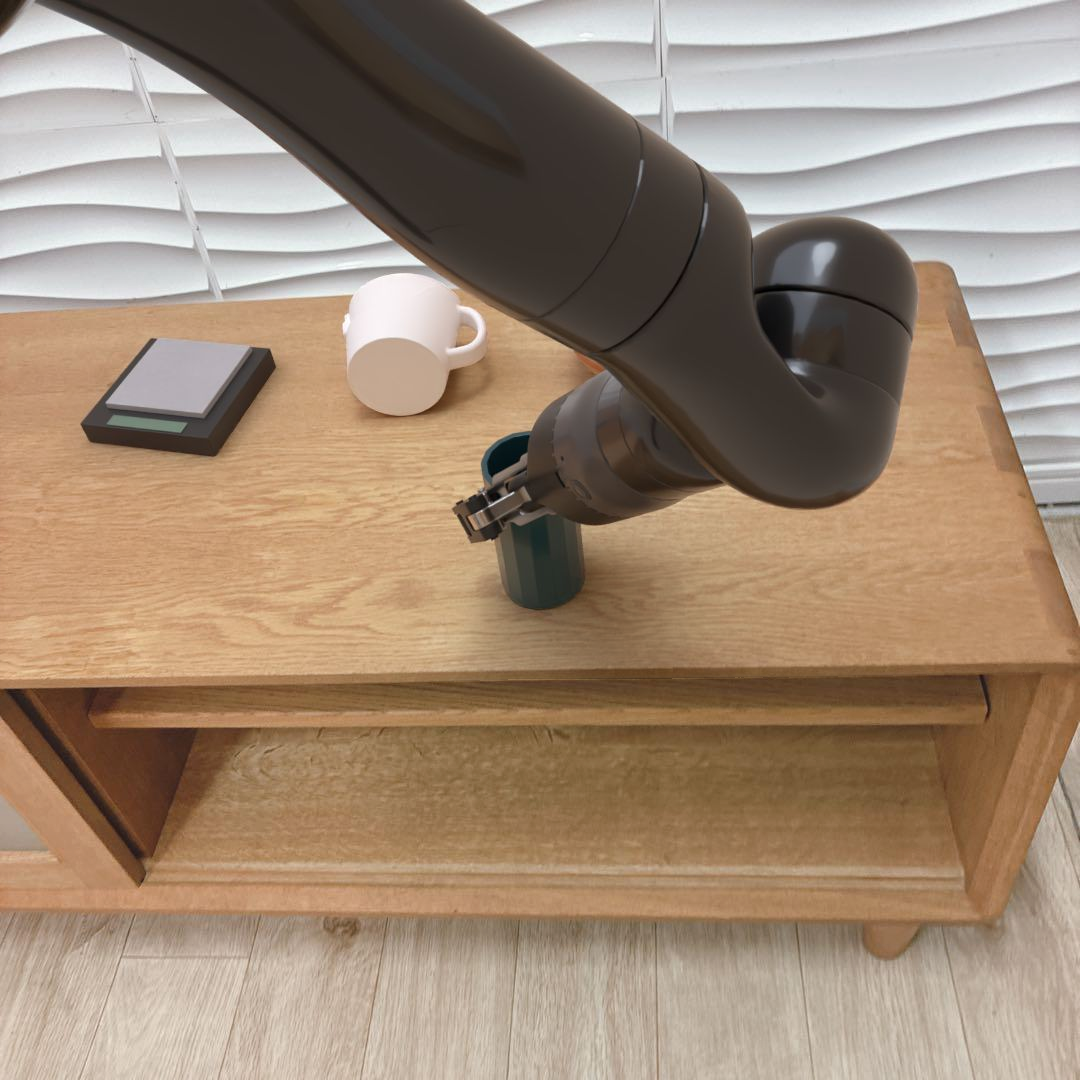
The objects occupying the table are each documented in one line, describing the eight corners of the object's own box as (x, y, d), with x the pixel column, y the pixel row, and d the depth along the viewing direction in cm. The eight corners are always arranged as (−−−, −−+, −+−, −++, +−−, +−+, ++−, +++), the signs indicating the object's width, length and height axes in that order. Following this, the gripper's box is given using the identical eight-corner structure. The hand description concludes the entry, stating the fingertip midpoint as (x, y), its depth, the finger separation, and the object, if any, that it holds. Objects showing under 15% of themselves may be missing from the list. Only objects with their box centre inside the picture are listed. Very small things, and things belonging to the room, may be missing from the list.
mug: (349, 421, 89) (326, 342, 83) (359, 353, 96) (339, 275, 90) (493, 408, 88) (479, 328, 83) (493, 340, 95) (481, 262, 89)
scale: (215, 456, 88) (204, 432, 86) (89, 441, 91) (76, 418, 89) (276, 366, 96) (268, 342, 94) (158, 355, 98) (148, 332, 97)
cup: (573, 615, 73) (560, 498, 65) (492, 603, 74) (469, 487, 66) (593, 553, 76) (583, 435, 68) (515, 542, 78) (496, 426, 70)
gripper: (695, 321, 57) (576, 392, 73) (471, 442, 52) (396, 491, 68) (760, 445, 58) (629, 489, 74) (546, 576, 53) (454, 593, 69)
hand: (517, 490), depth 71 cm, fingers closed on cup, 6 cm apart
